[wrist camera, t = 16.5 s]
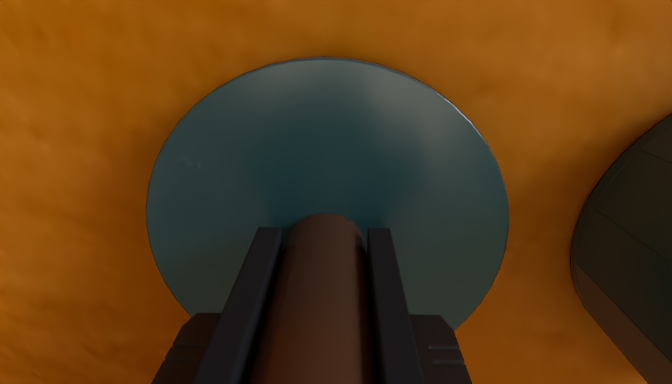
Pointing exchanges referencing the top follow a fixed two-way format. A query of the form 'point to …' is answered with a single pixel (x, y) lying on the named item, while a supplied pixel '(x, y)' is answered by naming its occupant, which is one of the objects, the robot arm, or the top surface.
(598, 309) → the pot
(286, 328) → the lid
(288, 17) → the top surface
